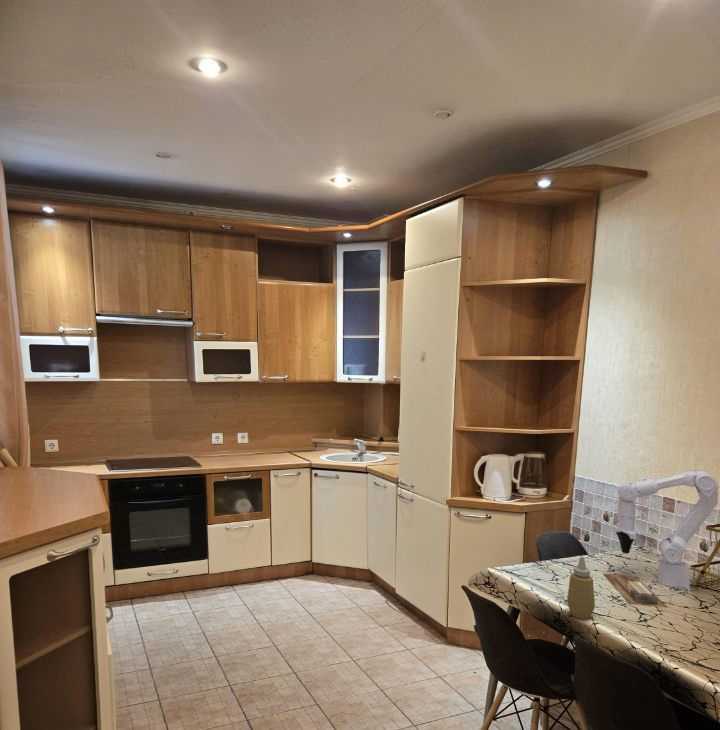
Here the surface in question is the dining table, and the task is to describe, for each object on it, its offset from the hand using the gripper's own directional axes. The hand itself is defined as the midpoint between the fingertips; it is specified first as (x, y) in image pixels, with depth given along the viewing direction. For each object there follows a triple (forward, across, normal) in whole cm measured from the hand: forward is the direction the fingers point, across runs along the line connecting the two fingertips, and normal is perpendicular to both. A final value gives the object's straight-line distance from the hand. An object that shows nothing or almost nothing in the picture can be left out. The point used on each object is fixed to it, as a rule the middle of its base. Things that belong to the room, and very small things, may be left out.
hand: (625, 552), depth 192 cm
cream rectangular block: (+9, +19, -2) cm, 21 cm away
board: (+9, +13, -2) cm, 16 cm away
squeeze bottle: (+10, +36, -26) cm, 45 cm away
